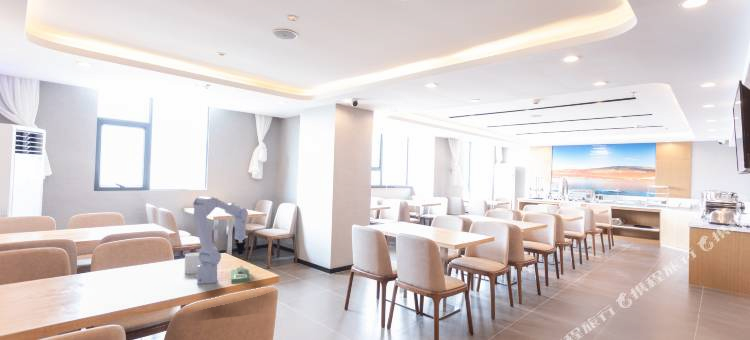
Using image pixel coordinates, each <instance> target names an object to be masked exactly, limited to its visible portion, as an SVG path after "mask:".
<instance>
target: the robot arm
mask: <svg viewBox="0 0 750 340" xmlns="http://www.w3.org/2000/svg"><path fill="white" fill-rule="evenodd" d="M192 206H193V219H194V223H195V227H196V231H197V235H198V238H199V243H200V246H201V247H200V249H199V250H198V253H199V261H200V262H201V265H198V272H197V274H196V275H197V276H196V280H197V282H196V284H197V285H204V284H205V285H206V284H207V285H208V284H215V283H216V284H218V282H219V277H218V265H219V263H220V262H221V258H222V255H221V253H220V252H219V249H218V248H217V247H216V246H215V245H214V243H213V238H212V235H211V230H210V225H209V221H208V218H207V217H208V216H209V215H210V214H211V213H212V212H213V211H214V210H215V209H216V208H219V209H222V210H224V212H225V213H226V214H228V215H231V216H232V217H233V218H234V244H235V245H236V249H237V254H238V255H239V256H240V255H243V253H244V248H245V245H246V242H247V241H246V239H248V237H249V236H248V235H246V233H247V232H246V223H247V222H246V221H247V218H248V216H249V212H248V210H247V208H245V207H241V205H236V204H235V203H234V202H229V203H227V202H224V201H223V200H221V199H219V198H217V197H213V196H211V197H210V196H209V197H208V196H201V195H200V196H197V197H196V198H195V200H194V201H193V202H192Z"/></svg>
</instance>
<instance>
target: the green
mask: <svg viewBox="0 0 750 340" xmlns="http://www.w3.org/2000/svg"><path fill="white" fill-rule="evenodd" d="M230 271H231V272H230V273H231V274H230V278H231V279H230V282H231V283H230V284H236V283H237V284H239V283H248V282H247V281H250V282H251V276H250V271H249V268H244V269H243V271H242V272H238V271H237V269H231V270H230Z"/></svg>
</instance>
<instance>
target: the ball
mask: <svg viewBox="0 0 750 340" xmlns="http://www.w3.org/2000/svg"><path fill="white" fill-rule="evenodd" d="M243 269H245V267H244V266H242V265H239V266H237V268H236V270H237V271H238V272H242V271H243Z"/></svg>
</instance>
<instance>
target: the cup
mask: <svg viewBox="0 0 750 340" xmlns="http://www.w3.org/2000/svg"><path fill="white" fill-rule="evenodd" d="M198 265H202V264H201V262H200V261H199V252H189V253H186V254H184V273H185V274H186V275H197V272H198Z"/></svg>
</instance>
